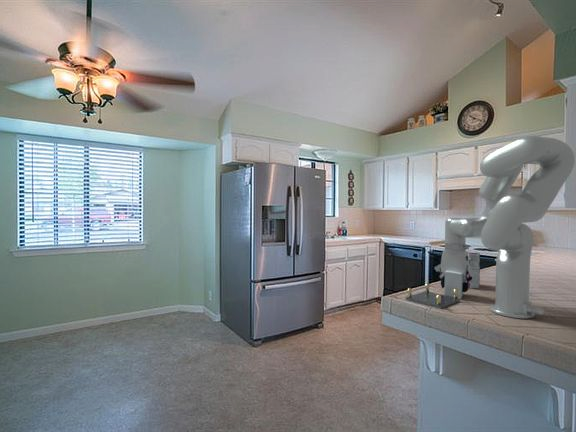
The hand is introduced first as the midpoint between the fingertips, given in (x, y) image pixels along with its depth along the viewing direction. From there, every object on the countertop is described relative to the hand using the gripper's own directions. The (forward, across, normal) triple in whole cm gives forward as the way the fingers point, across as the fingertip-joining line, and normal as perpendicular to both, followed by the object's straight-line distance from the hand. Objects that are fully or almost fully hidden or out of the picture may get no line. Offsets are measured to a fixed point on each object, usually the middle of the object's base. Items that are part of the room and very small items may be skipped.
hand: (454, 289), depth 130 cm
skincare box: (+3, 0, 0) cm, 3 cm away
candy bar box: (+3, +4, -22) cm, 23 cm away
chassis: (+3, +2, +14) cm, 14 cm away
